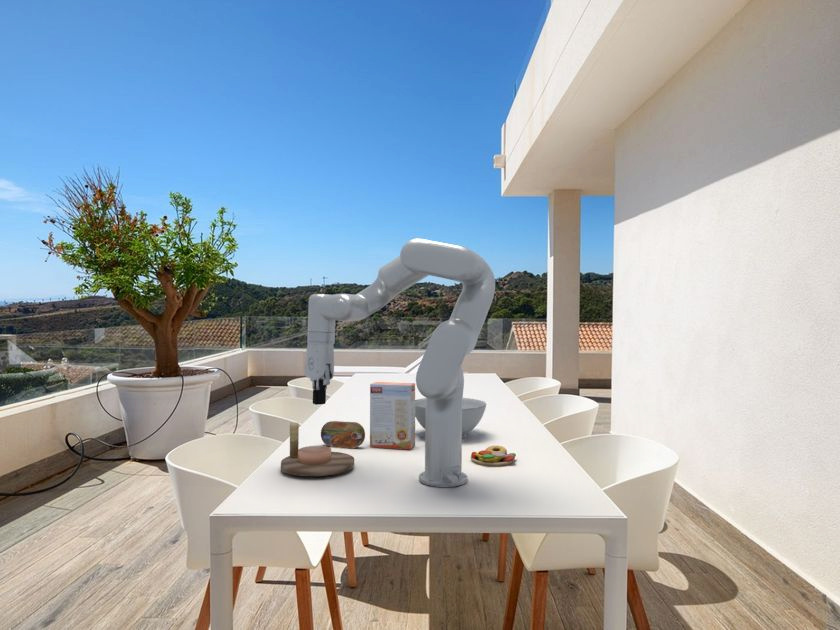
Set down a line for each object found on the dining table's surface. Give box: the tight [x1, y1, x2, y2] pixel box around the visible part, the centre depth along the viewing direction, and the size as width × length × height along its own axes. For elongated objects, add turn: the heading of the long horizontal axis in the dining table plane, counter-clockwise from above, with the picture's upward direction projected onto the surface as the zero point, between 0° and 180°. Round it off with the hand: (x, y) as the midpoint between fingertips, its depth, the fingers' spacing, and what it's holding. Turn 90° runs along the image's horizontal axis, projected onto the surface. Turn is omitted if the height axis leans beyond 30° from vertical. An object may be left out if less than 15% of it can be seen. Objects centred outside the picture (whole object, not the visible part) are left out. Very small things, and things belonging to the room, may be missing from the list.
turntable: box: [280, 422, 355, 477], centre depth 148 cm, size 20×20×11 cm
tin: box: [320, 420, 366, 450], centre depth 175 cm, size 15×3×8 cm, turn 72°
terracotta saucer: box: [298, 445, 332, 465], centre depth 148 cm, size 9×9×3 cm
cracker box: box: [369, 381, 416, 451], centre depth 175 cm, size 14×6×21 cm, turn 75°
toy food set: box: [470, 445, 517, 467], centre depth 158 cm, size 13×13×3 cm
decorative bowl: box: [415, 397, 487, 440], centre depth 191 cm, size 27×27×12 cm
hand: (319, 403), depth 149 cm, fingers closed
